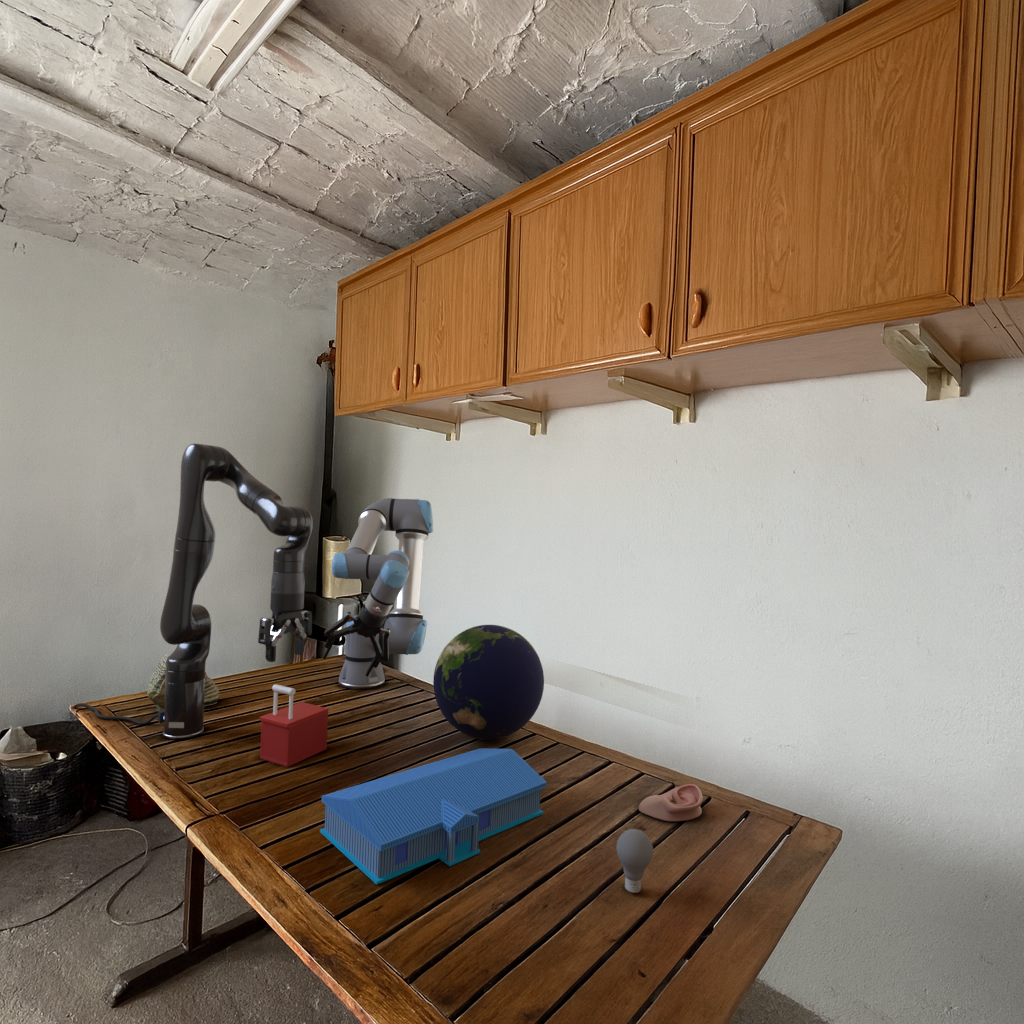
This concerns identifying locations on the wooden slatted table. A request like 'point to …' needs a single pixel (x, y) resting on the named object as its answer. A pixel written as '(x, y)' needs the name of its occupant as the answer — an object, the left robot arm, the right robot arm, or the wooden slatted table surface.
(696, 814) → the anatomical model
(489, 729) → the globe
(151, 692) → the fossil
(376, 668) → the right robot arm
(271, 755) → the chest
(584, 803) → the wooden slatted table surface
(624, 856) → the light bulb
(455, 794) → the model building
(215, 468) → the left robot arm
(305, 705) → the lid
